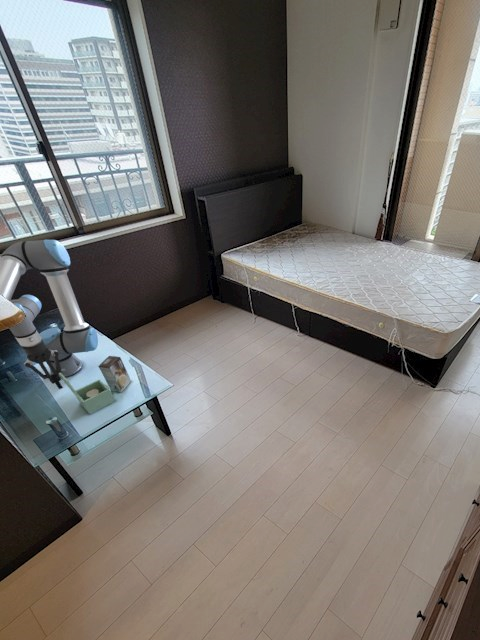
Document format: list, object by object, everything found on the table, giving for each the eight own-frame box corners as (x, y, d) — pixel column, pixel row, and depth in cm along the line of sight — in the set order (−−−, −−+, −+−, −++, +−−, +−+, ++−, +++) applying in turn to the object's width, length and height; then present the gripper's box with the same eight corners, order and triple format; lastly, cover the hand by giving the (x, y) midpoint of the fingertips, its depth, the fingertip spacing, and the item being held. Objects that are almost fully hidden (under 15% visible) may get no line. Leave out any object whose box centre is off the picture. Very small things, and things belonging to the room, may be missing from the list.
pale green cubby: (105, 391, 174) (99, 379, 169) (115, 401, 169) (109, 389, 164) (80, 403, 168) (73, 391, 162) (89, 414, 162) (82, 402, 157)
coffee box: (120, 379, 181) (109, 355, 170) (131, 381, 180) (120, 356, 169) (110, 390, 175) (97, 365, 164) (121, 392, 174) (109, 367, 163)
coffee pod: (100, 395, 171) (95, 387, 167) (105, 401, 168) (100, 392, 164) (88, 401, 168) (84, 393, 164) (93, 406, 165) (89, 398, 161)
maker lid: (57, 369, 153) (55, 370, 152) (67, 380, 147) (65, 381, 147) (73, 390, 162) (71, 391, 162) (83, 401, 157) (81, 402, 156)
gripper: (16, 353, 130) (47, 398, 146) (52, 339, 137) (78, 384, 153) (10, 345, 134) (41, 390, 150) (45, 332, 141) (71, 376, 157)
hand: (60, 387), depth 152 cm, fingers closed
